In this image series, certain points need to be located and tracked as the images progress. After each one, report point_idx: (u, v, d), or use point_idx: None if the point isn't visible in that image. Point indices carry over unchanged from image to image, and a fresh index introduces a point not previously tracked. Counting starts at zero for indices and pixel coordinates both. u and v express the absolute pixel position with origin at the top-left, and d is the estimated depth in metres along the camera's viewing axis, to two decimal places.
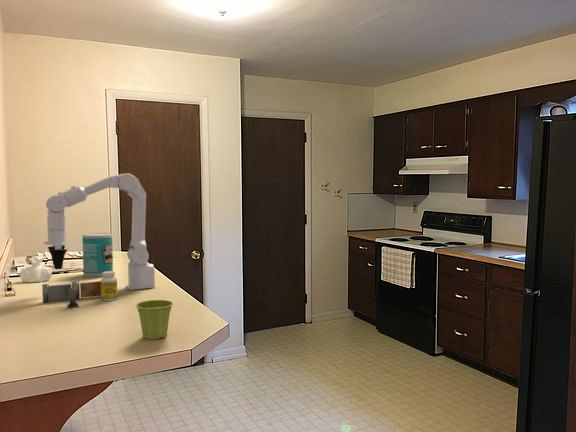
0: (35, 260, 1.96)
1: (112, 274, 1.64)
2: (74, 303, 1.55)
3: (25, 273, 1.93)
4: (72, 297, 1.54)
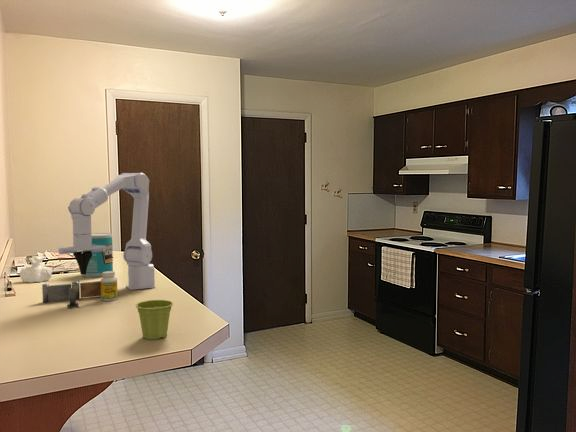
0: (35, 260, 1.96)
1: (112, 274, 1.64)
2: (74, 303, 1.55)
3: (25, 273, 1.93)
4: (72, 297, 1.54)
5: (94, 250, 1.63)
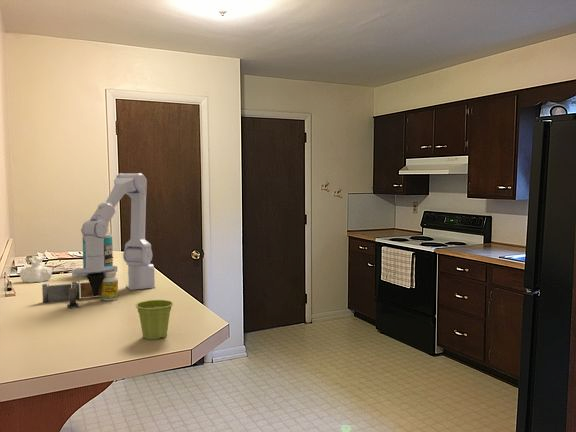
0: (35, 260, 1.96)
1: (113, 274, 1.64)
2: (74, 303, 1.55)
3: (25, 273, 1.93)
4: (72, 297, 1.54)
5: (106, 271, 1.65)
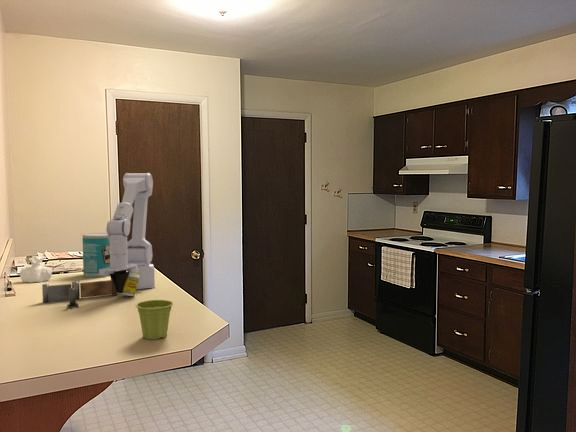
0: (35, 260, 1.96)
1: (138, 271, 1.70)
2: (74, 303, 1.55)
3: (25, 273, 1.93)
4: (72, 297, 1.54)
5: None
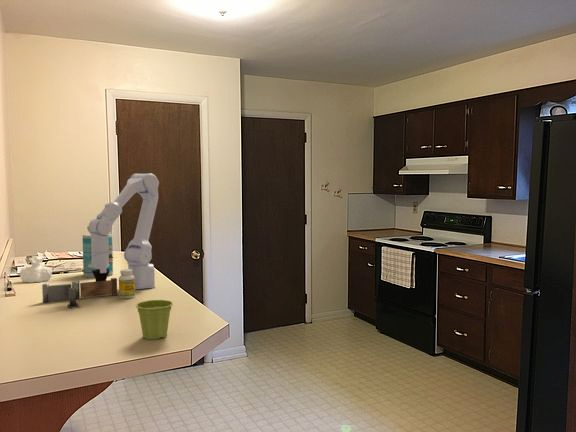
0: (35, 260, 1.96)
1: (131, 272, 1.68)
2: (74, 303, 1.55)
3: (25, 273, 1.93)
4: (72, 297, 1.54)
5: None
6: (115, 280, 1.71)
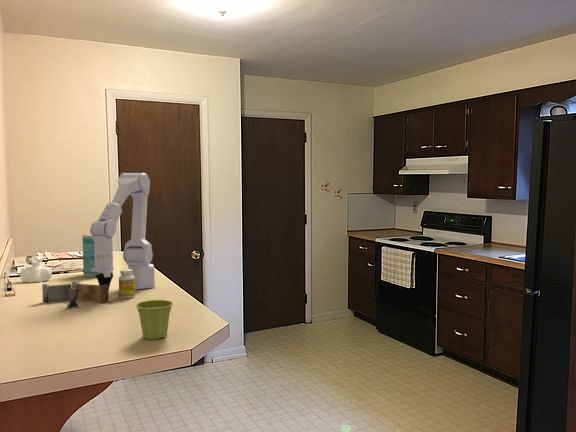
0: (35, 260, 1.96)
1: (131, 272, 1.68)
2: (74, 303, 1.55)
3: (25, 273, 1.93)
4: (72, 297, 1.54)
5: None
6: (103, 287, 1.60)
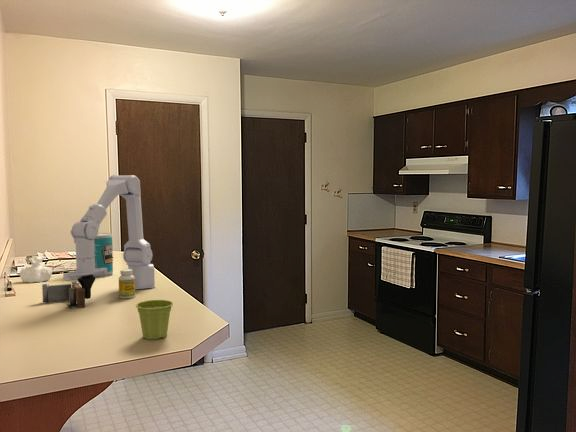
0: (35, 260, 1.96)
1: (131, 272, 1.68)
2: (74, 303, 1.55)
3: (25, 273, 1.93)
4: (72, 297, 1.54)
5: (96, 273, 1.61)
6: (78, 291, 1.54)
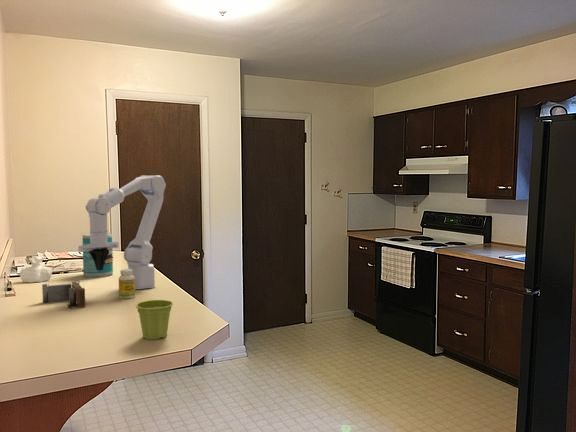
0: (35, 260, 1.96)
1: (131, 272, 1.68)
2: (74, 303, 1.55)
3: (25, 273, 1.93)
4: (72, 297, 1.54)
5: (108, 247, 1.72)
6: (78, 291, 1.54)
